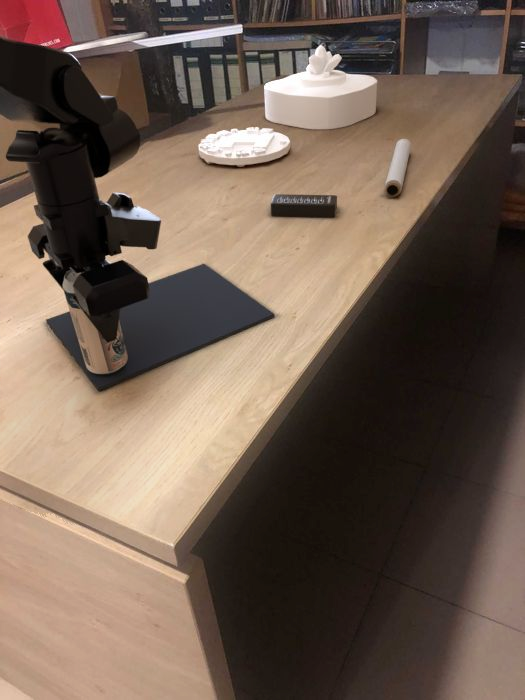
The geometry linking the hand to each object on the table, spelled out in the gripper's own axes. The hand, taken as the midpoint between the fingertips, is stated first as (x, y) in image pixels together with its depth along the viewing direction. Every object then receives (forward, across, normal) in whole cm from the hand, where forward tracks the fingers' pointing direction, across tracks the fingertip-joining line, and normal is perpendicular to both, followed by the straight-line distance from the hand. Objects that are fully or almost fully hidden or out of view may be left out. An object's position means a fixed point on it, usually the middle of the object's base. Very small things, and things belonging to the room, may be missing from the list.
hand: (101, 329), depth 66 cm
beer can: (+5, 0, 0) cm, 5 cm away
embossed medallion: (+5, +54, -55) cm, 77 cm away
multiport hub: (+5, +20, -45) cm, 49 cm away
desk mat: (+5, +6, -9) cm, 12 cm away
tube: (+5, +23, -69) cm, 73 cm away
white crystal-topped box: (+5, +68, -87) cm, 110 cm away
